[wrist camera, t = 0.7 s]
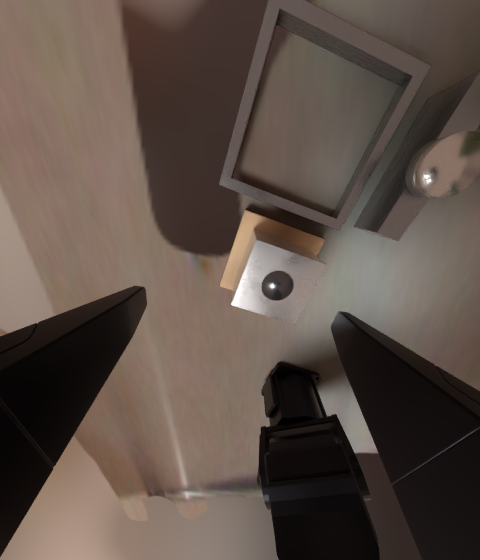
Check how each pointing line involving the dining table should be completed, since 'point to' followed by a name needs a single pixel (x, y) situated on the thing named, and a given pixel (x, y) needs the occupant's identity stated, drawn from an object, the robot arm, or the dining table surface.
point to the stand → (269, 227)
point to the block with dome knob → (276, 277)
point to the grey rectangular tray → (416, 146)
